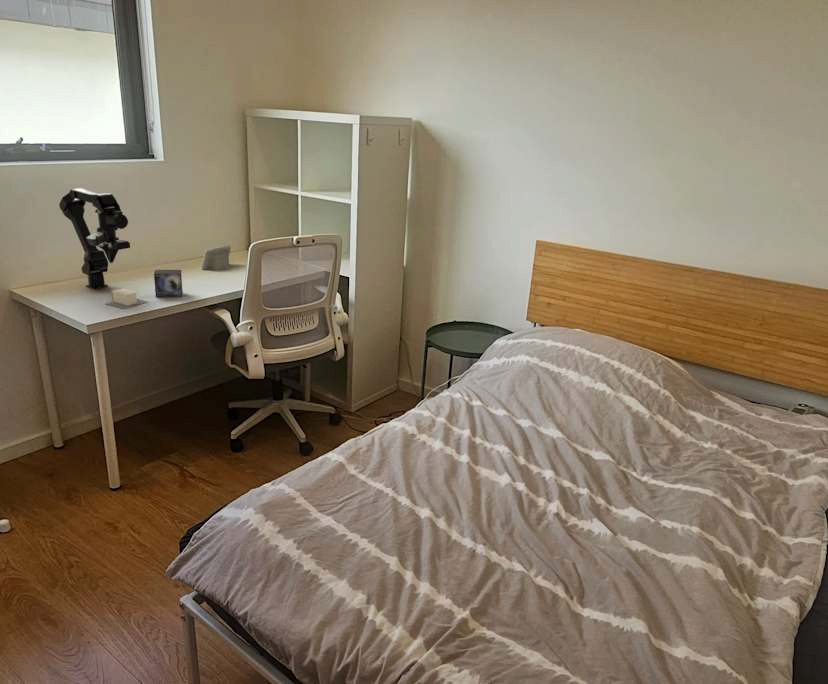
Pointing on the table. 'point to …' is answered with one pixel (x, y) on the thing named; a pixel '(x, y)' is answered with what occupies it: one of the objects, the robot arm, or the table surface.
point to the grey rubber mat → (126, 305)
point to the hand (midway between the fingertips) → (111, 262)
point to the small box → (168, 283)
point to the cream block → (124, 296)
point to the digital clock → (216, 258)
